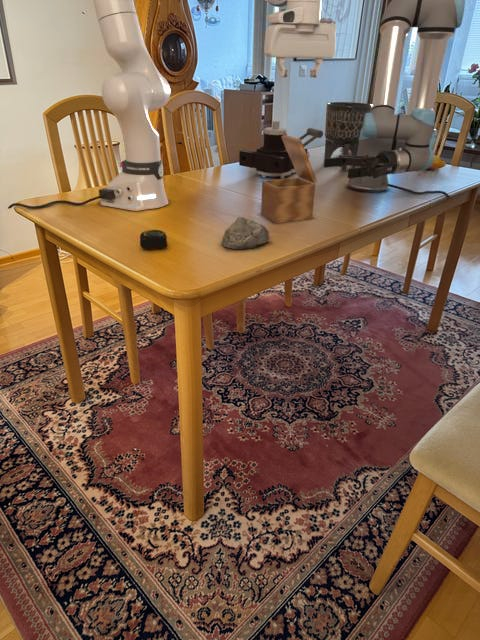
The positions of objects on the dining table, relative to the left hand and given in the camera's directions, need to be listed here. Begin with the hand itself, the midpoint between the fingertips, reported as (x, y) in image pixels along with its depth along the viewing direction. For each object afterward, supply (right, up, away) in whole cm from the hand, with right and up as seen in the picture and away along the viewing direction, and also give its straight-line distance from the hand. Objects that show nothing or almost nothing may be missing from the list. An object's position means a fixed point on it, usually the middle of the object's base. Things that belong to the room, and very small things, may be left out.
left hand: (298, 77), depth 124 cm
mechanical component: (+2, -3, +72) cm, 72 cm away
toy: (+73, +5, +88) cm, 114 cm away
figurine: (+41, +21, +115) cm, 124 cm away
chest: (-1, -34, +19) cm, 39 cm away
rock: (-14, -46, -3) cm, 49 cm away
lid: (+1, -19, +12) cm, 22 cm away
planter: (+31, +5, +86) cm, 92 cm away
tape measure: (-38, -48, -7) cm, 62 cm away
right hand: (+14, -19, +18) cm, 30 cm away
